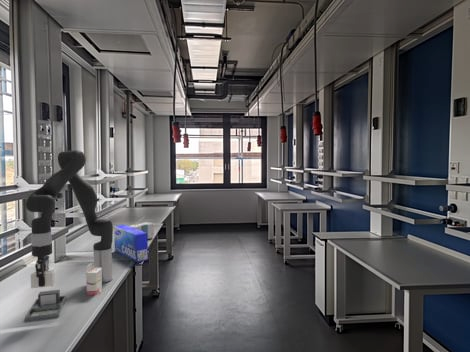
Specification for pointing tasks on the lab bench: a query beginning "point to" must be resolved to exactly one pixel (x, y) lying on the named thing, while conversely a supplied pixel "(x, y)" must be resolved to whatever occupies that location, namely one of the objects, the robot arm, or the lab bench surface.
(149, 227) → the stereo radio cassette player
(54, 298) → the block
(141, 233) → the toner cartridge box
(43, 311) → the tray with compartments
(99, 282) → the ink cartridge box
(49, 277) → the block
